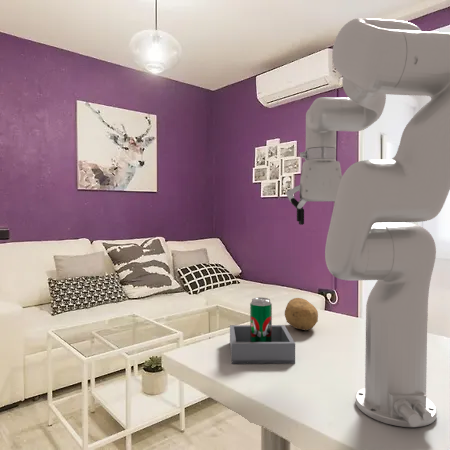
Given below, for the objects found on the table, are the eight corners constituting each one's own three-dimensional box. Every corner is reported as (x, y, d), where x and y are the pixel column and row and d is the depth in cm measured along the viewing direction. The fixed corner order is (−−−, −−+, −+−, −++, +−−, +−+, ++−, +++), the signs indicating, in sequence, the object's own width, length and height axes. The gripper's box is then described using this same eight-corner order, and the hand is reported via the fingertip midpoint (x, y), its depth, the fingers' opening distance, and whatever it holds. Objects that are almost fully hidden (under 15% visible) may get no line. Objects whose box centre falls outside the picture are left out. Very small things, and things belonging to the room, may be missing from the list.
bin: (295, 363, 86) (295, 343, 86) (231, 364, 86) (231, 343, 86) (284, 342, 100) (284, 325, 100) (229, 342, 100) (229, 325, 100)
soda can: (271, 346, 95) (271, 297, 95) (271, 353, 90) (272, 301, 90) (250, 345, 96) (250, 296, 95) (249, 352, 91) (250, 301, 90)
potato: (288, 336, 105) (288, 306, 105) (281, 321, 119) (281, 295, 119) (324, 336, 105) (324, 307, 105) (313, 321, 119) (313, 295, 119)
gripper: (289, 154, 95) (289, 225, 96) (360, 154, 95) (359, 224, 96) (284, 158, 103) (283, 224, 103) (349, 159, 103) (348, 224, 103)
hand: (320, 224), depth 99 cm, fingers open, 9 cm apart
